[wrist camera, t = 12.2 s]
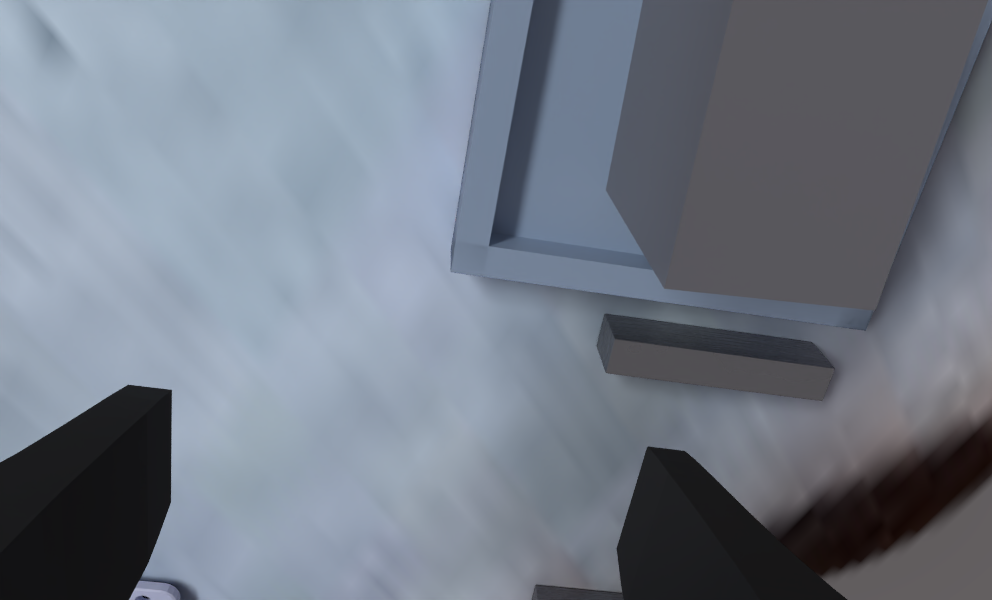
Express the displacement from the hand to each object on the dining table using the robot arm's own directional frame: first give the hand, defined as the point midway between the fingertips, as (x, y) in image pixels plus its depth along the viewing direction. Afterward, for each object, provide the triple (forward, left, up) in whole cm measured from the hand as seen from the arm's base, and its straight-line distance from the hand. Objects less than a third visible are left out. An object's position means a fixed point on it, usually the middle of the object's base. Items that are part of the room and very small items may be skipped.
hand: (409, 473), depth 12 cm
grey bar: (+6, +6, -9) cm, 13 cm away
